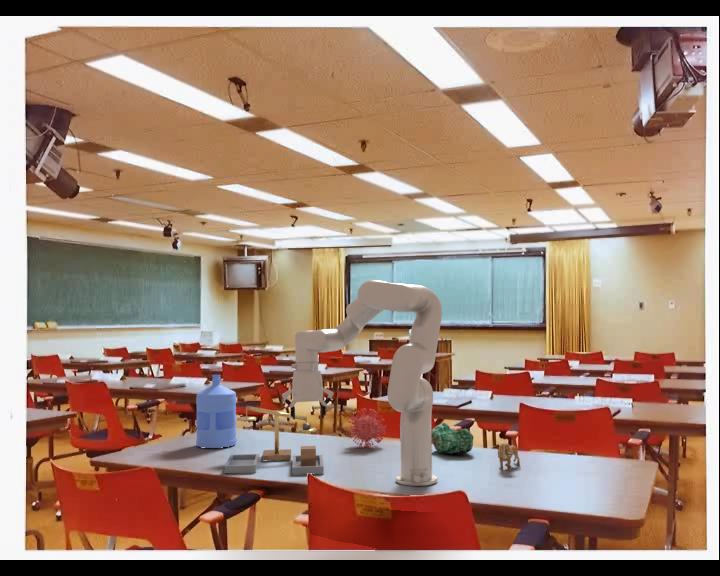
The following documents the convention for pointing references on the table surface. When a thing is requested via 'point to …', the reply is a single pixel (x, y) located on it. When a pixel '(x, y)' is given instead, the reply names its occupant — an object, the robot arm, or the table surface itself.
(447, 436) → the mineral
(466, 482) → the table surface
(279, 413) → the balance
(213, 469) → the table surface
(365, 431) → the virus model
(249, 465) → the dish high side
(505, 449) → the lion figurine
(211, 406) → the water jug
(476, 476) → the table surface
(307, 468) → the dish low side
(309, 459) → the walnut block
